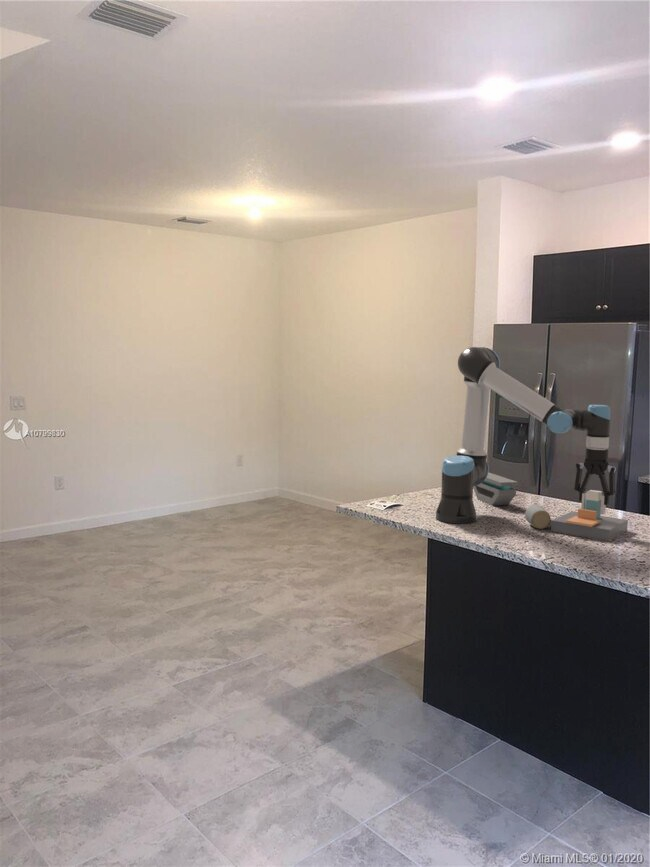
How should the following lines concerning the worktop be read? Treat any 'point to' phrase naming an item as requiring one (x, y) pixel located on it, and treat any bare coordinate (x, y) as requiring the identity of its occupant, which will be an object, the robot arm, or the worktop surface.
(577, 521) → the terracotta shutter
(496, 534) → the worktop surface
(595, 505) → the teal plug
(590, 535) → the socket block
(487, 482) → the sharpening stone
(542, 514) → the ceramic mug
